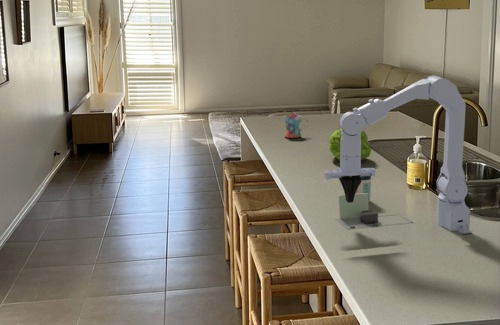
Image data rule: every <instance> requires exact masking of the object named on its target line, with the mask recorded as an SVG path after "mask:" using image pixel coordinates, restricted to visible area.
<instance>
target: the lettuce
mask: <svg viewBox="0 0 500 325" xmlns="http://www.w3.org/2000/svg"><path fill="white" fill-rule="evenodd" d="M341 130H343V129H342V128H340V129H338V130H335V131H334V132H333V133H332V134H331V135H330V138H329V142H328V150H329V152H331V153H332V155H333V156H334V157H335V158H336V159H337V160H338V161H340V146H341ZM371 152H372V149H371V146H370V144H369V139H368V135H367V134H366V131H365V130H364V129H363V130H362V131H361V161H362V160H365V159H367V158H369V157H370V156H371Z"/></svg>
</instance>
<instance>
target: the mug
mask: <svg viewBox="0 0 500 325" xmlns="http://www.w3.org/2000/svg"><path fill="white" fill-rule="evenodd" d="M283 119H284V122H285V133H284V137H285V138H288V139H297V138H300V137H301V136H302V134H301V132H302V129H304V128H305V127H306V126H307V124H308V119H307V118H303V116H302V114H301V115H300V114H285V115H283ZM303 120H306V122H305V125H304V126H302V127H301V128H300V125H301V123H302V121H303Z"/></svg>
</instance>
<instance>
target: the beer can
mask: <svg viewBox="0 0 500 325" xmlns="http://www.w3.org/2000/svg"><path fill="white" fill-rule="evenodd" d="M360 178H361V179H362V181H361V183H360V185H359V187H358V189H357V191H356V193H355V194H361V193H368V204H369V203H371V188H372V186H371V185H372V183H371V182H372V176H360Z"/></svg>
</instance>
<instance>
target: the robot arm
mask: <svg viewBox="0 0 500 325" xmlns="http://www.w3.org/2000/svg"><path fill="white" fill-rule="evenodd" d="M417 99H419V100H429V99H432V100H433V101H435V102H437V103H438V104H439V105H440V106H442V107H443V109H444V110H445V122H444V123H445V124H444V125H445V126H444V140H443V142H444V143H443V163H442V166H441V167H440V173H439V176H438V178H437V179H436V187H437V189H438V191H439V194H438V197H437V213H436V224H437V226H440V227H442V228H445V229H446V230H448V231H449V232H453V231H455V232H456V231H457V232H458V233H460V234H461V235H463V234H465V235H466V234H472V233H473V231H472V230H471V229H470V225H471V224H470V221H471V210H470V208H469V207H468V206H467V205H466V202H465V198H466V197H467V195H468V192H469V191H468V190H469V189H468V186H467V183H466V175H465V170H464V168H463V161H464V160H463V158H464V157H463V156H464V140H465V126H466V125H465V124H466V102H465V100H464V98H463V97H462V95H461V93H460V91H459V89H458V86H457V85H456V84H454V82H452V81H451V80H449V79H447V78H443V77H441V76H439V75H435V74H434V75H433V74H432V75H429V76H427V77H426V78H422V79H419V80H418V81H415V82H414V83H411V84H410V85H408V86H407V87H405V88H403V89H402V90H399V91H398V92H396V93H394V94H392V95H391V96H388V97H387V98H385V99H380V98H375V99H373V98H371V99H368V102H367V103H366V104H363V105H361V106H359V107H354V108H352V110H353V111H347V112H345V113H344V114H342V116H341V117H340V120H339V121H338V123H339V127H340V129H343V130H341V146H340V160H339V168H338V169H333V170H332V169H331V170H326V171H325V170H324V179H325V180H332V179H338V180H339V182H340V184H341V186H342V188H343V192H344V195H345V197H346V201H347V202H348V203H352V202H353V200H354V196H355V194H356V191H357V189H358V187H359V185H360V183H361V181H362V179H361V178H360V176H371V177H376V168H374V167H362V166H361V164H362V160H361V131H362V130H364V128H367V127H369V126H371V125H373V124H376V123H378V122H380V121H382V120H384V119H385V118H387V117H388V114H389V112H390V111H391V110H393V109H396V108H398V107H400V106H403V105H405V104H407V103H409V102H412V101H413V100H417Z"/></svg>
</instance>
